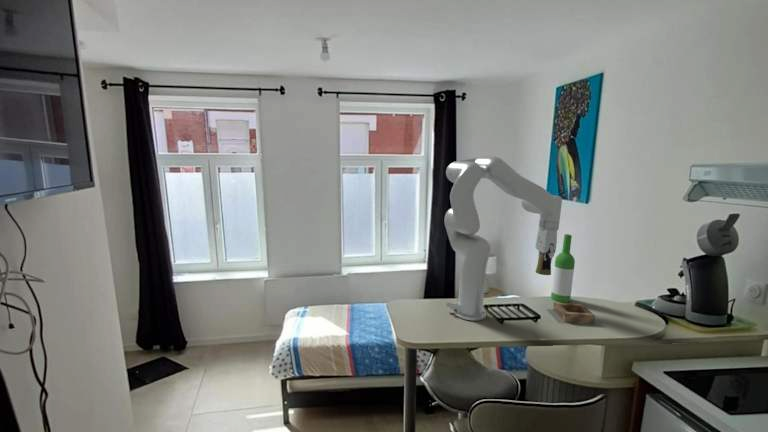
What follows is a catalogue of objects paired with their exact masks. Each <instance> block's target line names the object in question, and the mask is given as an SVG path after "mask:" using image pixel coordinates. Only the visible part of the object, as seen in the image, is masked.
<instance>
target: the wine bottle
mask: <svg viewBox="0 0 768 432" xmlns="http://www.w3.org/2000/svg"><path fill="white" fill-rule="evenodd" d="M572 236H573V235H571V234H570V233H569V234H566V233H565V234H564V236H563V242H562V251H561V252H560V253H558V254H557V255H556V257H555V260H554V266H553V267H554V268H553V277H552V283H551V291H550V292H551V293H550V294H551V295H550V296H551V297H550V298H551V300H553V301H555V302H556V303H569V302H570V301H571V295H572V288H573V279H574V274H575V273H574V272H575V258H574V256H573V255H572V253H571V248H572V247H571V245H572V238H573V237H572Z"/></svg>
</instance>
